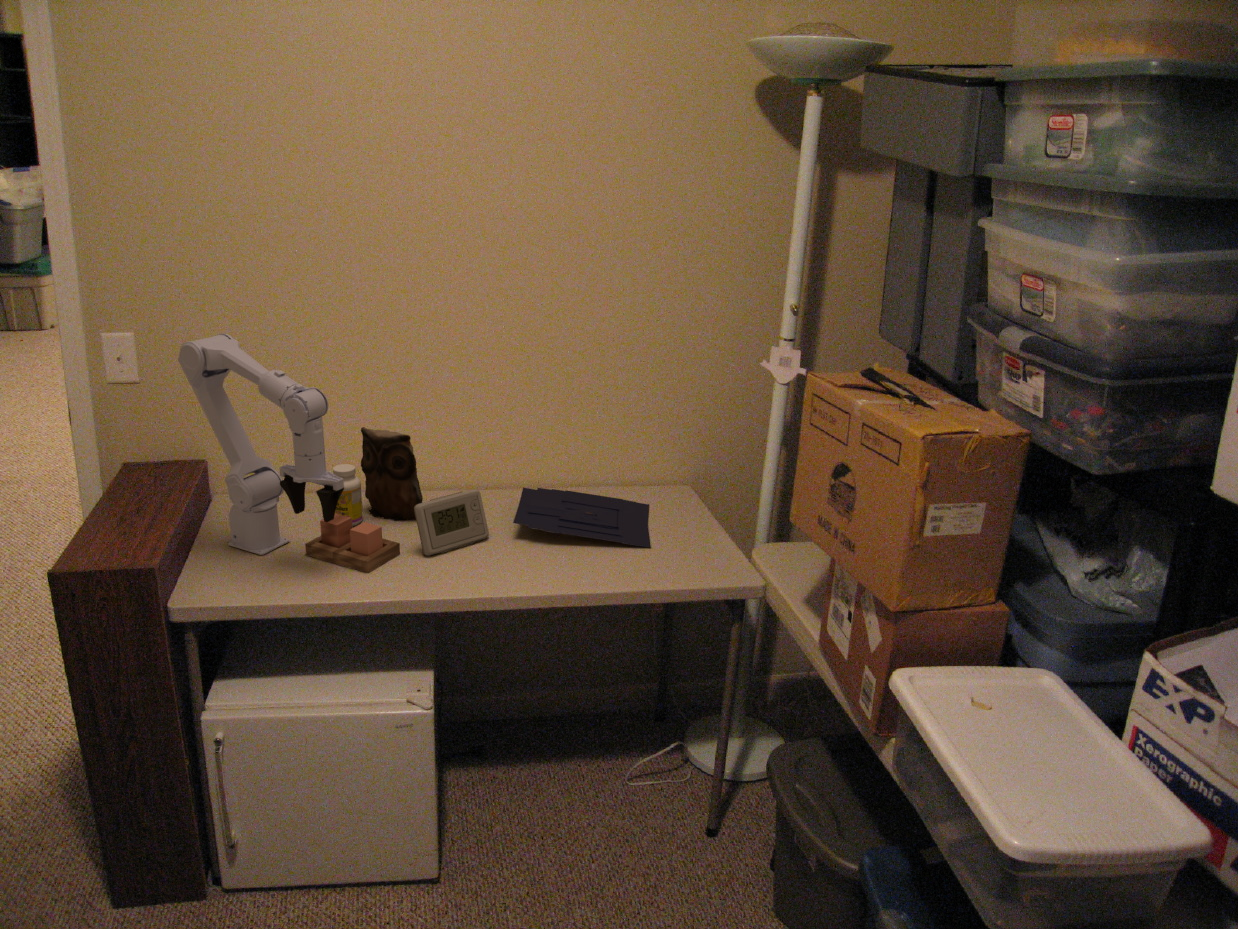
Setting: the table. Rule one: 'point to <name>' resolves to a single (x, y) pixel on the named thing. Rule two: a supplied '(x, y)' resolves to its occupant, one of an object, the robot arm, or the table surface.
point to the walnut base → (347, 546)
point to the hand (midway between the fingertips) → (314, 516)
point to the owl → (390, 474)
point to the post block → (366, 539)
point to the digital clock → (451, 522)
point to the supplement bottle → (349, 493)
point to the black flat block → (584, 515)
